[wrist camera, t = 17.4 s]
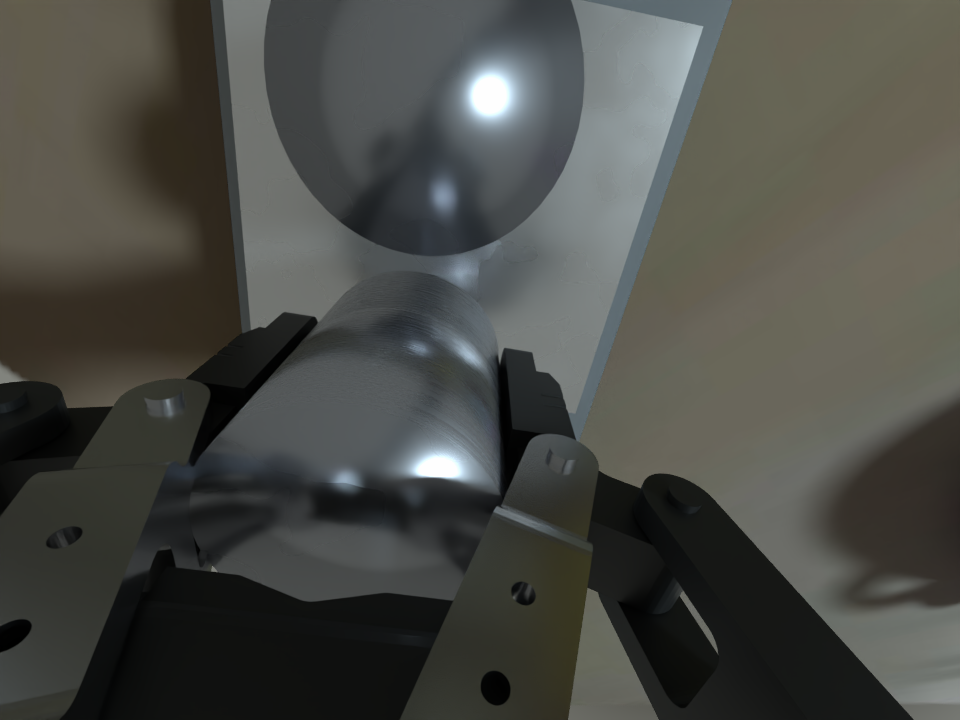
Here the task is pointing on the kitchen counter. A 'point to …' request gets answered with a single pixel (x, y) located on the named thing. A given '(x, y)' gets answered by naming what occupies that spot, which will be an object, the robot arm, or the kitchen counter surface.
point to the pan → (514, 257)
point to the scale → (688, 3)
